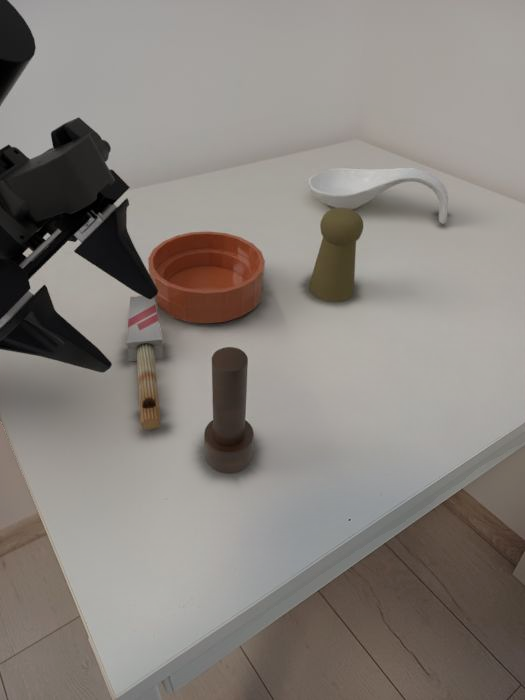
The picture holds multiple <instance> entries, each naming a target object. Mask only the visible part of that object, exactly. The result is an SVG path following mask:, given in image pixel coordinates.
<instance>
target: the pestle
mask: <svg viewBox="0 0 525 700" xmlns="http://www.w3.org/2000/svg"><path fill="white" fill-rule="evenodd" d="M248 360H249V357H248V355H247V353H246V352H245V351H244V350H242V349H240V348H239V347H238V348H237V347H234V346H233V347H232V346H227V347H222V348H219V349H217V350H216V351H215V352H213V355H212V356H211V391H212V396H211V397H212V420H210V421H209V423H208V424H207V425H206V426H205V429H204V433H203V440H204V441H203V442H204V458H205V461H206V463H207V465H208V466H209V467H210V468H211V469H212V470H214V471H216V472H218V473H222V474H235V473H240V472H241V471H243V470H244V469H246V468H247V467H248V466H249V465H250V463H251V462H252V460H253V451H254V438H255V437H254V435H255V434H254V428H253V427H252V425H251V423H250V422H249V421H247V420H246V417H247V416H246V412H247V389H248V388H247V387H248V369H249V367H248V365H249V364H248V363H249V361H248Z"/></svg>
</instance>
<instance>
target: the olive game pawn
mask: <svg viewBox="0 0 525 700" xmlns="http://www.w3.org/2000/svg"><path fill="white" fill-rule="evenodd" d="M319 225H320V234H321V236H322V239H321V243H320V246H319V250H318V253H317V255H316V256H317V257H316V259H315V263H314V267H313V270H312V274H311V277H310V281H309V284H308V290H309V292H310V293H311V294H312V295H313V297H315V298H316V299H319V300H321V301H324V302H329V303H340V302H345V301H348V300H350V299H351V298H352V297H353V295H354V293H355V277H356V276H355V272H356V252H357V251H356V250H357V241H358V240H359V239H360V238H361V236H362V233H363V232H364V231H363V230H364V220H363V218H362V216H361V215H360V214H359V213H358V212H356V211H355V210H354V209H353V210H350V209H346V208H331V209H329V210H328V211H325V213H324V214H323V215H322V218H321V220H320V224H319Z"/></svg>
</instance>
